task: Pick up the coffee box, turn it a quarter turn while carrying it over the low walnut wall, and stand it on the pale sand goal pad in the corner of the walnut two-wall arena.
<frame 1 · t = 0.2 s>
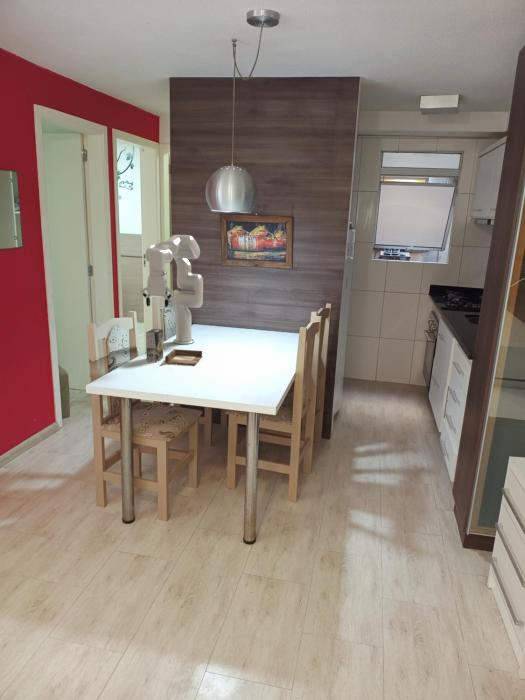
hand: (157, 306, 276), 30 cm above the table, tool pointing down, fingers open, 9 cm apart
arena: (184, 360, 286), on the table
coffee box: (155, 359, 287), on the table
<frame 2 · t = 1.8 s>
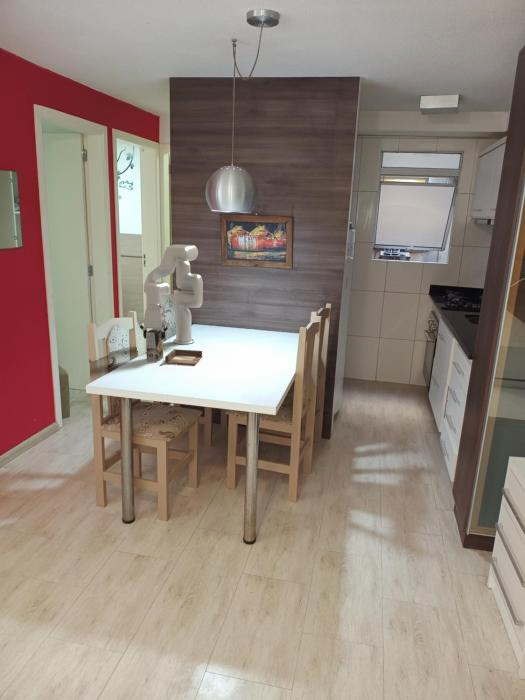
hand: (154, 338, 283), 12 cm above the table, tool pointing down, fingers open, 9 cm apart
nothing on the table moved.
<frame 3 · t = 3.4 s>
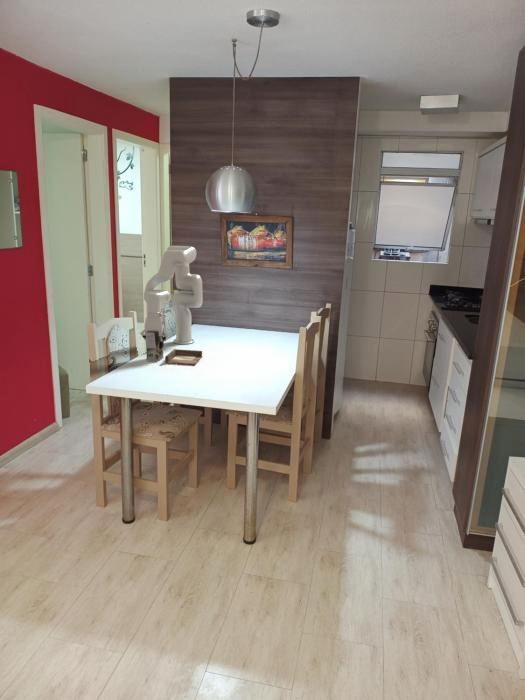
hand: (154, 347, 285), 7 cm above the table, tool pointing down, fingers closed on coffee box, 6 cm apart
coffee box: (155, 359, 287), on the table, touching gripper
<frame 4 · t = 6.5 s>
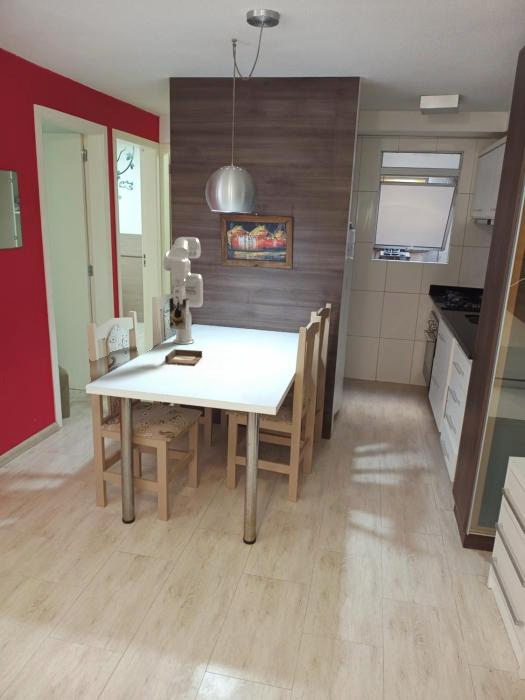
hand: (179, 315, 281), 24 cm above the table, tool pointing down, fingers closed on coffee box, 6 cm apart
coffee box: (179, 328, 283), point 18 cm above the table, touching gripper
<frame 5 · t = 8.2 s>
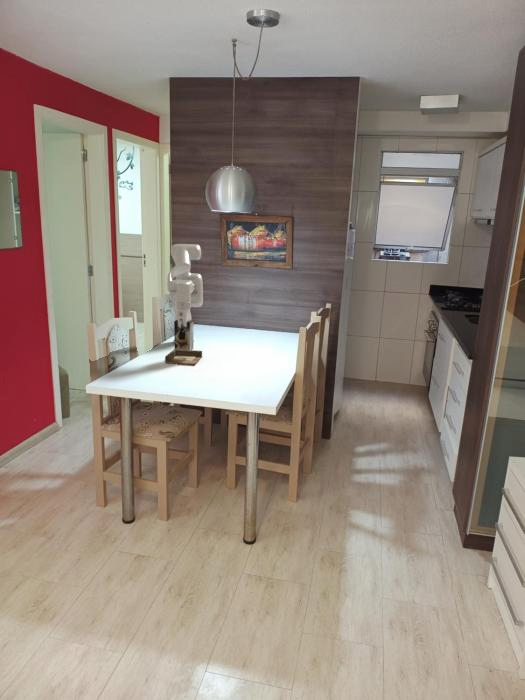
hand: (184, 337, 284), 12 cm above the table, tool pointing down, fingers closed on coffee box, 6 cm apart
coffee box: (184, 350, 286), point 6 cm above the table, touching gripper
when the fingers open (9 cm above the table, at t = 9.7 s): coffee box drops 1 cm, resting on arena.
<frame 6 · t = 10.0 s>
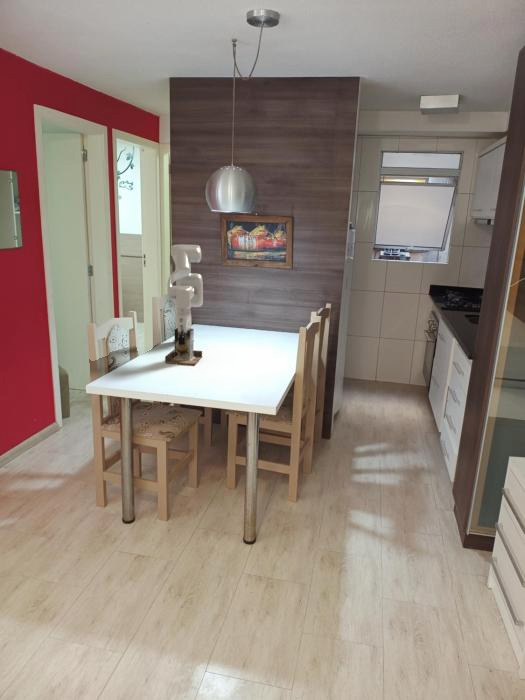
hand: (184, 342, 285), 10 cm above the table, tool pointing down, fingers open, 9 cm apart
coffee box: (184, 358, 288), point 1 cm above the table, touching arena
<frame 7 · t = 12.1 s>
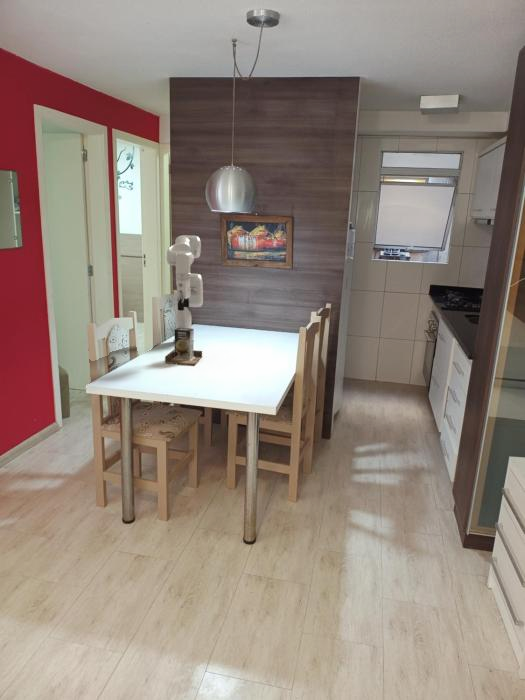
hand: (183, 308, 281), 28 cm above the table, tool pointing down, fingers open, 9 cm apart
nothing on the table moved.
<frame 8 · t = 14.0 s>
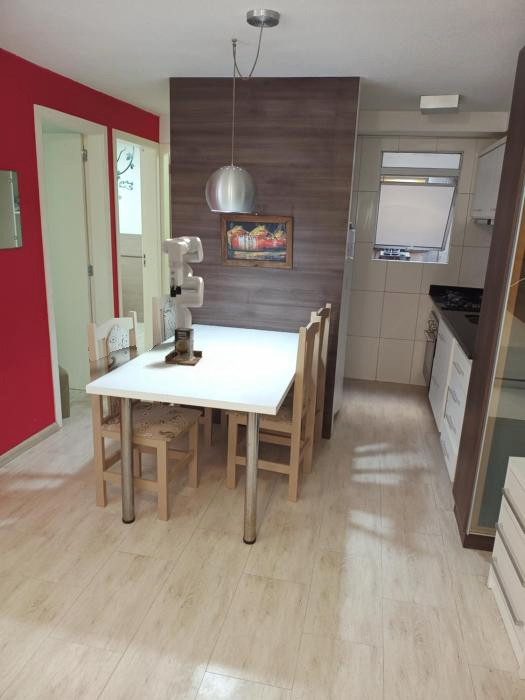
hand: (175, 295, 291), 33 cm above the table, tool pointing down, fingers open, 9 cm apart
nothing on the table moved.
at the end: coffee box 0.3 cm from the target spot, point 0.9 cm above the table; coffee box tilted 0°; the gripper is holding nothing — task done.
